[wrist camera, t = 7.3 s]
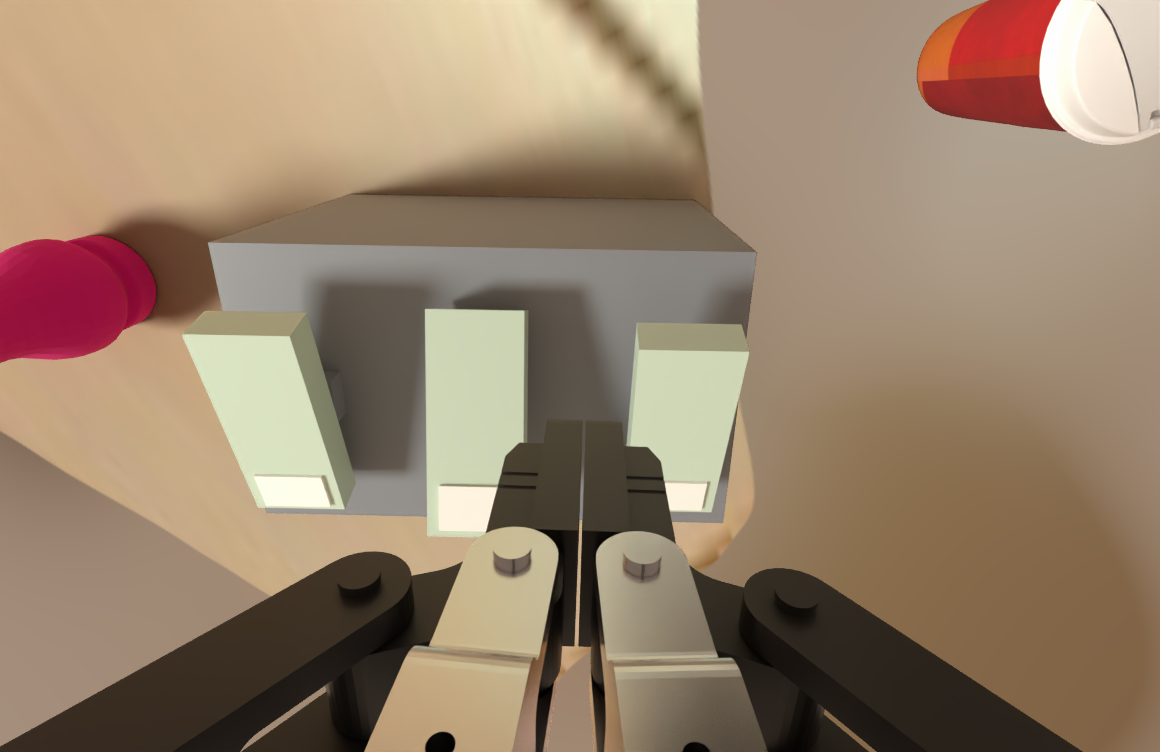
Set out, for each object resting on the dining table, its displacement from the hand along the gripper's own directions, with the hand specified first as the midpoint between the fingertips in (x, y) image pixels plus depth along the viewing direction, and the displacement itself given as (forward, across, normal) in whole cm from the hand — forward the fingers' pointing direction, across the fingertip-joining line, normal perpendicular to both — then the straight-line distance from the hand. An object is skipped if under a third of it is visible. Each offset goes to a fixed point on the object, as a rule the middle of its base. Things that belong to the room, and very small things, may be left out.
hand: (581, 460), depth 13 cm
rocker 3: (+11, -4, +5) cm, 13 cm away
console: (+30, +4, +6) cm, 31 cm away
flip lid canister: (+30, -21, -9) cm, 38 cm away
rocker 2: (+11, +4, +5) cm, 13 cm away
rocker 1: (+11, +12, +5) cm, 17 cm away
